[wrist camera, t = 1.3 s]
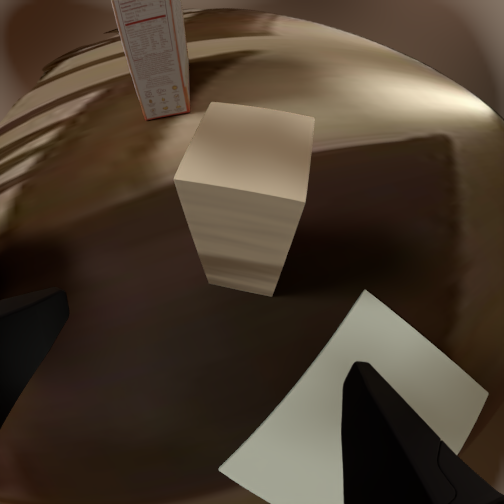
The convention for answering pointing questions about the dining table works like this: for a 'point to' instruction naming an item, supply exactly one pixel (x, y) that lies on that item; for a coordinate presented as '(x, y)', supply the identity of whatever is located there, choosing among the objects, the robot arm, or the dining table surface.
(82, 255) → the dining table surface
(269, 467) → the sage mat
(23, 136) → the dining table surface
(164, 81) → the cracker box
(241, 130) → the birch block
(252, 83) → the dining table surface
